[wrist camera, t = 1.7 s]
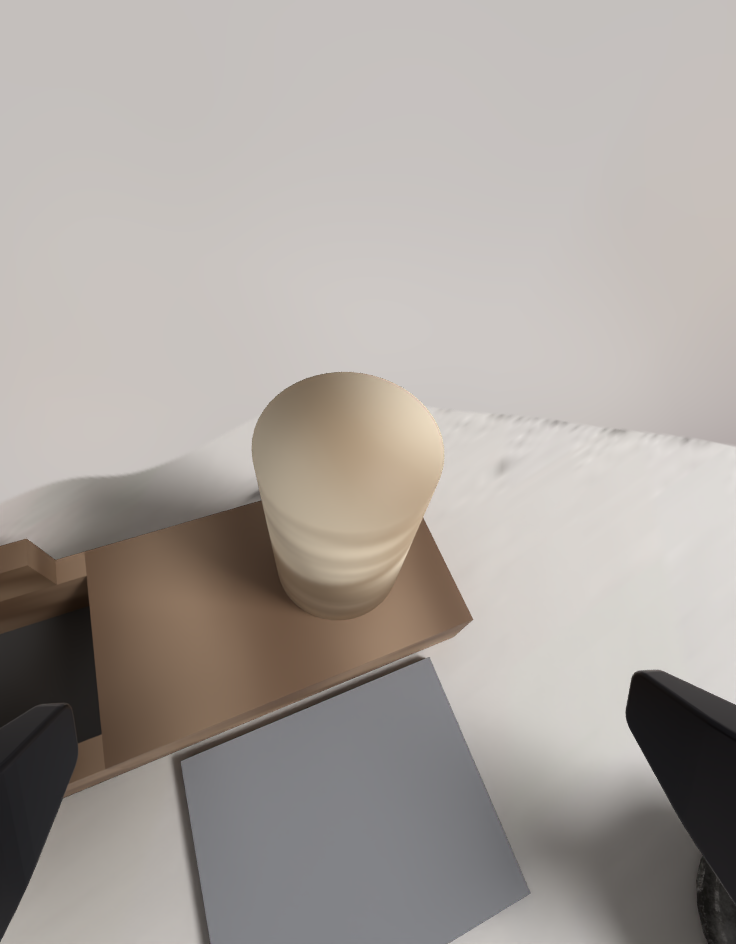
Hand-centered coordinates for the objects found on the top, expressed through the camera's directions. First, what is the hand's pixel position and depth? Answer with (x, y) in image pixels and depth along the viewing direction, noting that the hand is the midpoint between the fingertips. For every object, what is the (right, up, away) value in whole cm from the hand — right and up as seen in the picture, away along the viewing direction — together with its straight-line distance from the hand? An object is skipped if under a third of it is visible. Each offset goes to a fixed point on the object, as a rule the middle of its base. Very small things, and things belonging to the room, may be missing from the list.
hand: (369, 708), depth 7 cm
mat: (-1, -9, +9) cm, 13 cm away
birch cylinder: (-1, 0, +11) cm, 11 cm away
